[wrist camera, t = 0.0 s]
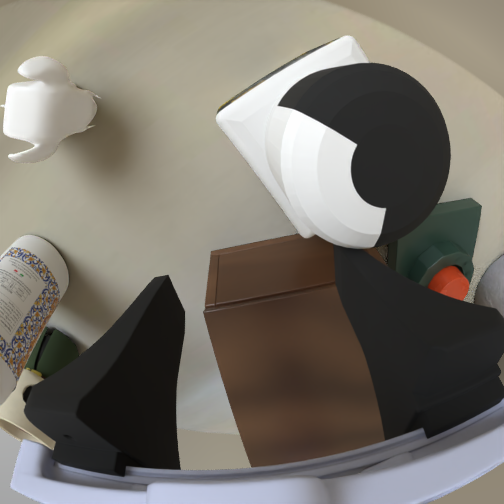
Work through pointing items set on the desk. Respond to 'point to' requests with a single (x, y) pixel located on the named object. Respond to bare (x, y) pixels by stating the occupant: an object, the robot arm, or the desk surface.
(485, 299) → the pillar candle
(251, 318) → the lid
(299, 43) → the desk surface
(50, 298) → the bath foam
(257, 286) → the box
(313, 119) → the medicine bottle
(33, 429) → the character mug
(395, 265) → the button block
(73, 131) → the elephant figurine
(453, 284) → the button
